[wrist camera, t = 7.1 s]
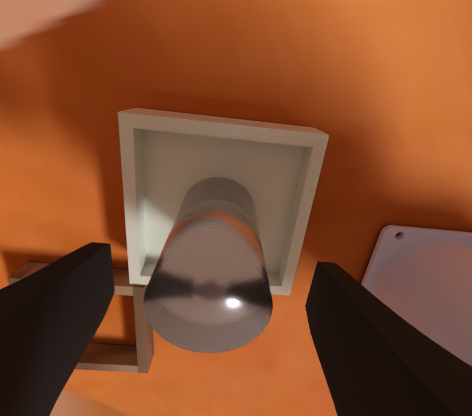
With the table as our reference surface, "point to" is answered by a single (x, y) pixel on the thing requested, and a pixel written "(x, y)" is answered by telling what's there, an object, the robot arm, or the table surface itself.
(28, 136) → the table surface
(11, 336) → the robot arm
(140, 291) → the walnut collar
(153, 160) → the beige shallow square tray
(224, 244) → the dowel pin
